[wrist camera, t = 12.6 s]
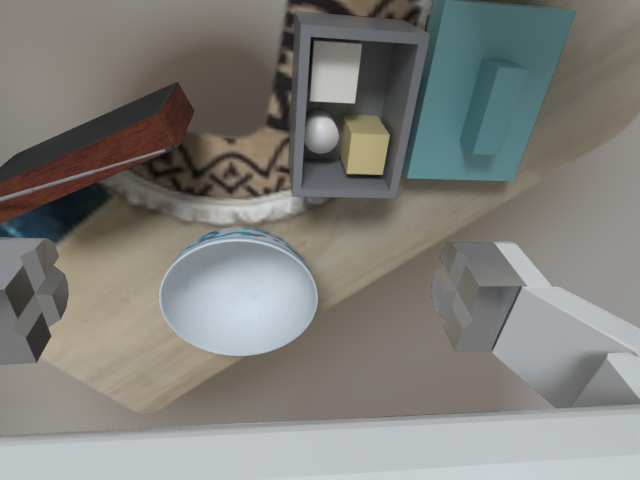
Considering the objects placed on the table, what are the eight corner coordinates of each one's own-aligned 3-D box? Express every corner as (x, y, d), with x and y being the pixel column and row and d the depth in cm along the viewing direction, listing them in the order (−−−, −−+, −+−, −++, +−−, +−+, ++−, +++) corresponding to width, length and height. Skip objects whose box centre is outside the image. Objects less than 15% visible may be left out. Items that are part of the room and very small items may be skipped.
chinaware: (337, 260, 49) (347, 307, 43) (240, 324, 53) (236, 375, 47) (248, 168, 41) (245, 209, 35) (143, 251, 46) (123, 300, 39)
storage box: (294, 11, 34) (300, 24, 28) (403, 19, 35) (430, 34, 30) (288, 161, 41) (292, 196, 36) (378, 164, 43) (396, 198, 37)
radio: (40, 182, 40) (-59, 286, 28) (15, 154, 38) (-102, 253, 26) (217, 104, 38) (195, 182, 25) (200, 71, 36) (166, 137, 24)
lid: (433, -4, 34) (460, 4, 30) (557, 7, 36) (600, 16, 31) (399, 166, 43) (416, 193, 38) (500, 169, 44) (528, 196, 39)
